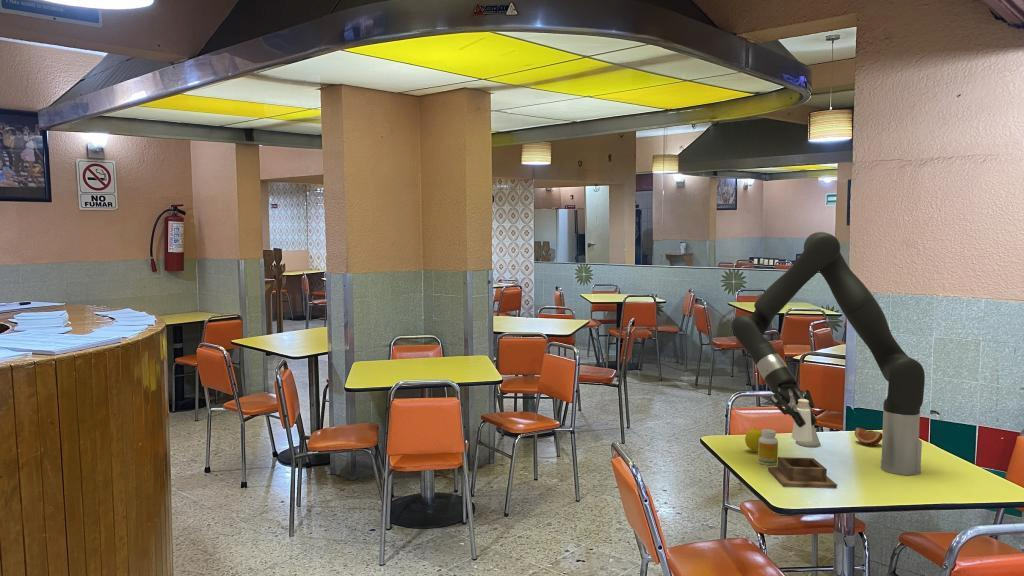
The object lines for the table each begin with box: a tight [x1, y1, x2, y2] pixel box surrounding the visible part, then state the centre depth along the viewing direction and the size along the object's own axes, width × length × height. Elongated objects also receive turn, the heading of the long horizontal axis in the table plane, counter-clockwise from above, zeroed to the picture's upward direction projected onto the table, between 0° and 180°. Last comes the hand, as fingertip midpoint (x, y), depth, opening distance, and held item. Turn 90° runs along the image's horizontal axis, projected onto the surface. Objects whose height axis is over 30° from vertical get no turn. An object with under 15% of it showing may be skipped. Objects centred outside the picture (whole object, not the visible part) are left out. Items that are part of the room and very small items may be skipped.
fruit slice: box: [854, 427, 882, 446], centre depth 231 cm, size 8×7×5 cm
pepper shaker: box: [791, 399, 812, 442], centre depth 195 cm, size 5×5×11 cm
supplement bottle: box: [757, 428, 779, 466], centre depth 210 cm, size 5×5×10 cm
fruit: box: [744, 426, 762, 453], centre depth 221 cm, size 6×6×8 cm
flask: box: [795, 413, 821, 448], centre depth 230 cm, size 7×7×10 cm
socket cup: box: [767, 456, 838, 489], centre depth 196 cm, size 14×14×4 cm
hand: (808, 424), depth 194 cm, fingers closed on pepper shaker, 3 cm apart
